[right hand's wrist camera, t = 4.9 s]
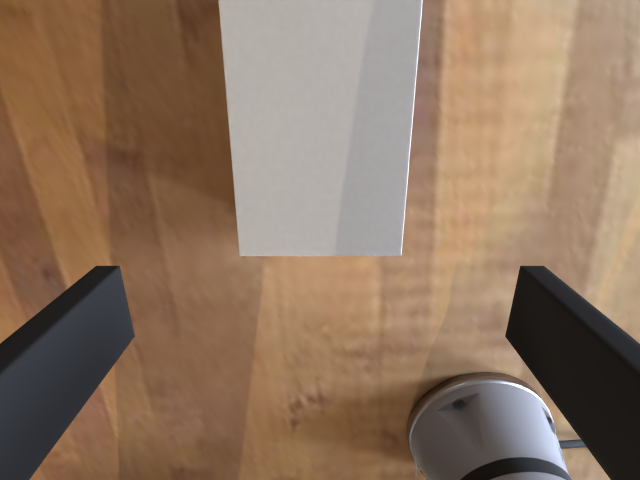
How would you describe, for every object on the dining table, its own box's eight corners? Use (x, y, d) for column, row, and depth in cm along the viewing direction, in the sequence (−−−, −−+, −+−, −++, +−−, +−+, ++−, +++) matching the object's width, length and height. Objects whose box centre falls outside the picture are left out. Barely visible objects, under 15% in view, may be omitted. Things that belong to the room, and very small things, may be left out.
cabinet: (241, -45, 27) (210, -97, 20) (399, -45, 27) (431, -97, 19) (257, 218, 34) (239, 256, 27) (383, 218, 34) (401, 256, 27)
